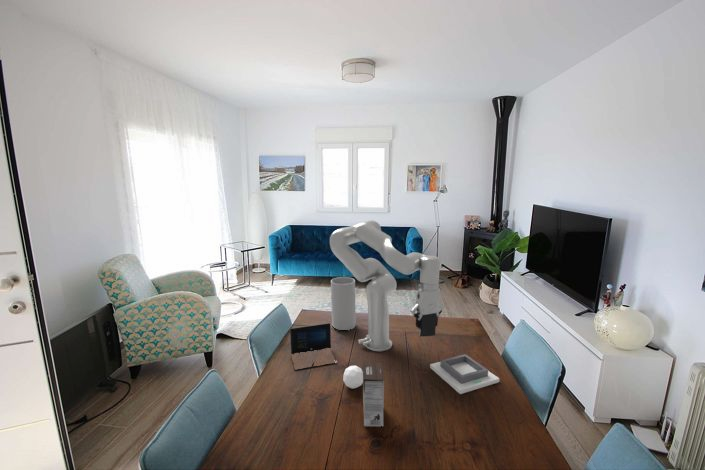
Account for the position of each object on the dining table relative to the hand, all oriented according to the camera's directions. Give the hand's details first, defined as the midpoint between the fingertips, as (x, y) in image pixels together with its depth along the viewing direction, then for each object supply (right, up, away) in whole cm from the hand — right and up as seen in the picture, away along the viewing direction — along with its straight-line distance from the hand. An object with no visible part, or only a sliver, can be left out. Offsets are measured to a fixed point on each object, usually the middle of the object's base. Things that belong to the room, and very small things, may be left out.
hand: (426, 325), depth 135 cm
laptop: (-48, -16, +3) cm, 50 cm away
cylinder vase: (-36, -10, +34) cm, 51 cm away
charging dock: (+12, -16, -10) cm, 22 cm away
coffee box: (-24, -20, -31) cm, 45 cm away
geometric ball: (-31, -18, -16) cm, 39 cm away
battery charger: (0, -4, +1) cm, 4 cm away
